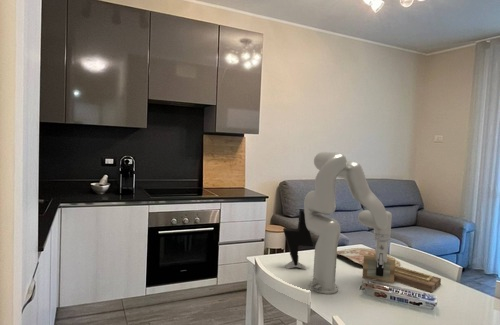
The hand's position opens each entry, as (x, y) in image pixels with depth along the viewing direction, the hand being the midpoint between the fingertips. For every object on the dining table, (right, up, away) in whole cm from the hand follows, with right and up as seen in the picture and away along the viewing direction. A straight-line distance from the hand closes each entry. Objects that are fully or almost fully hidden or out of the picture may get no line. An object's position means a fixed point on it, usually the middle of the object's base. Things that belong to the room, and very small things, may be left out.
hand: (379, 273), depth 160 cm
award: (-38, -1, +11) cm, 40 cm away
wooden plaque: (-1, -3, 0) cm, 3 cm away
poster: (+3, -2, +29) cm, 29 cm away
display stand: (+15, -3, +1) cm, 15 cm away
